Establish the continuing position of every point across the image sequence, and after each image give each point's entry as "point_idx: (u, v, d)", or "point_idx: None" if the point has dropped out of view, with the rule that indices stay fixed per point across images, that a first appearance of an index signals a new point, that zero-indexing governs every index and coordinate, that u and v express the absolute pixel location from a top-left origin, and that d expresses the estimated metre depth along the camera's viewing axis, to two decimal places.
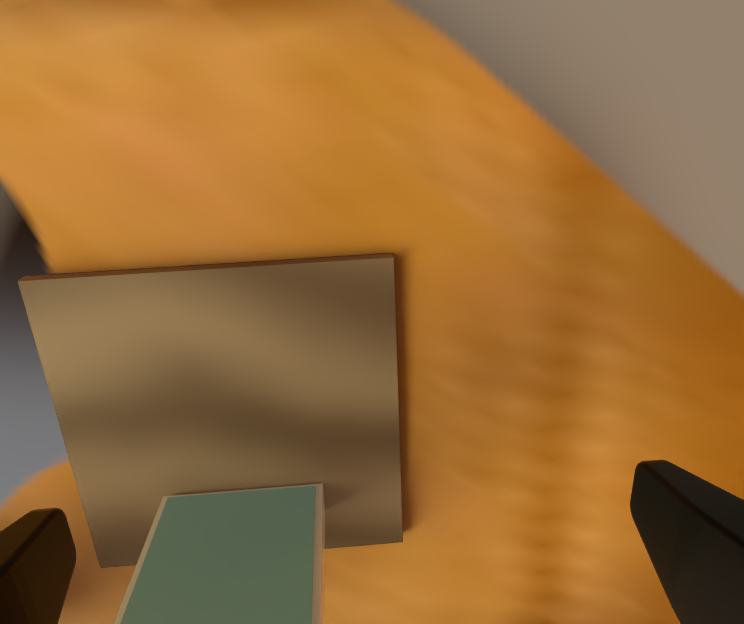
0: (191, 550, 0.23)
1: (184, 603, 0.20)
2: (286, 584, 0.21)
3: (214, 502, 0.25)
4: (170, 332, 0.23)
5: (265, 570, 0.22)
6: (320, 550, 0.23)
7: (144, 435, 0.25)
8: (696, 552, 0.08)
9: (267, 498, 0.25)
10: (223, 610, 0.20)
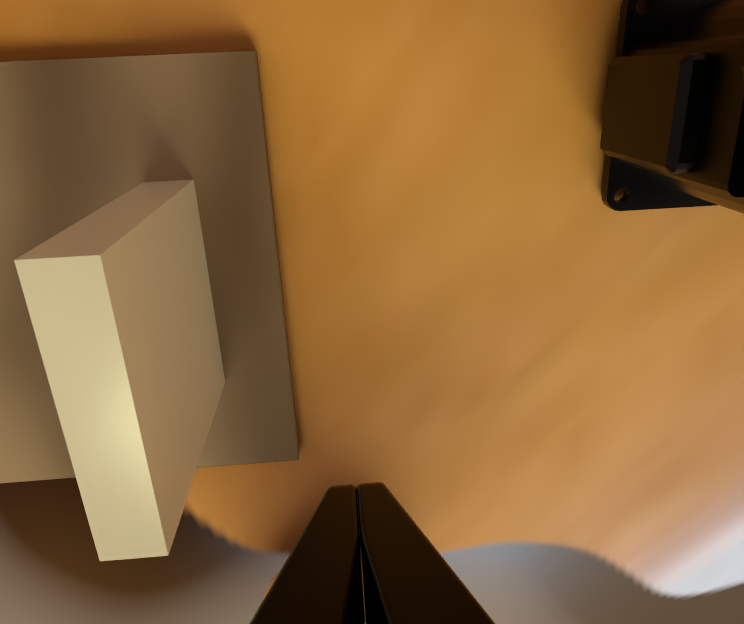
0: None
1: None
2: None
3: None
4: None
5: None
6: None
7: None
8: (365, 581, 0.08)
9: None
10: None
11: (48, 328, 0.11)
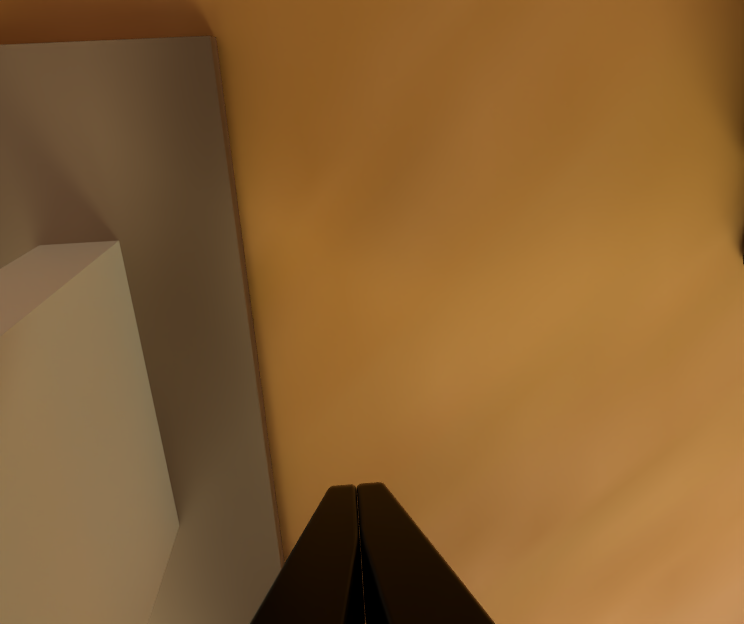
0: None
1: None
2: None
3: None
4: None
5: None
6: None
7: None
8: (365, 581, 0.08)
9: None
10: None
11: None
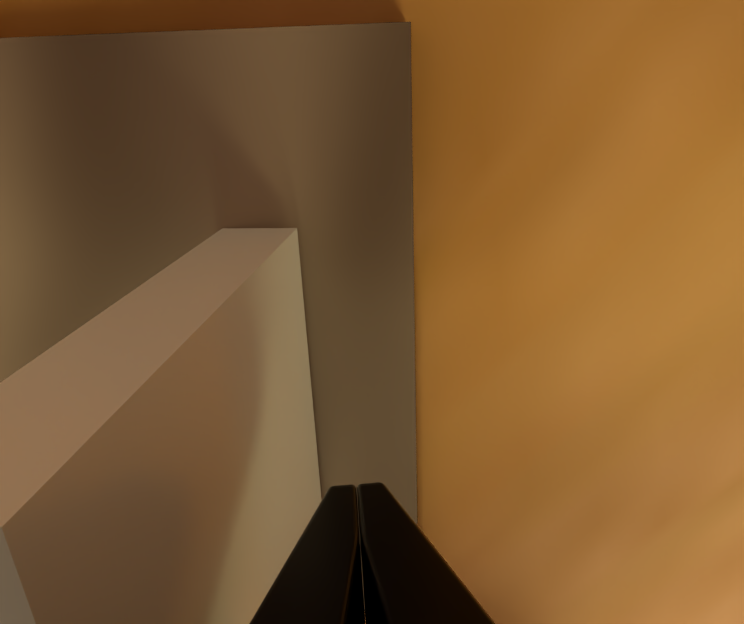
0: None
1: None
2: None
3: None
4: None
5: None
6: (114, 306, 0.08)
7: None
8: (365, 581, 0.08)
9: None
10: None
11: None
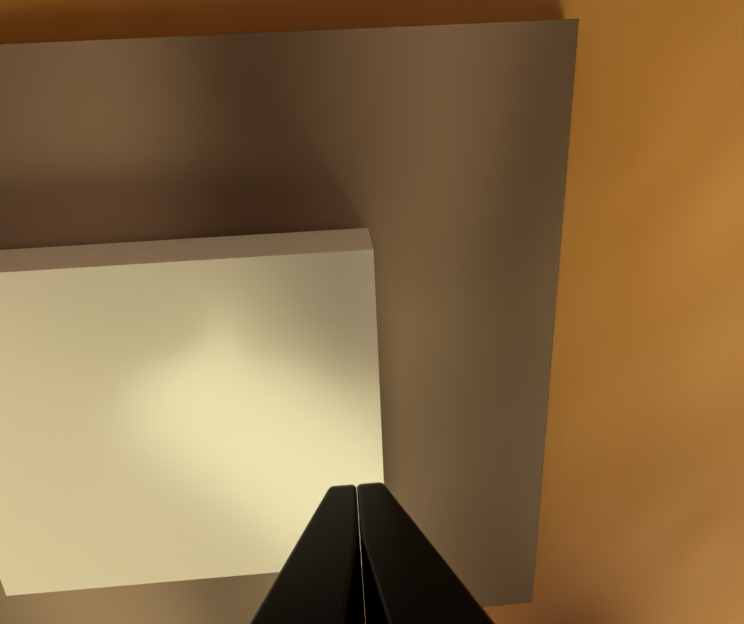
0: None
1: None
2: None
3: None
4: None
5: None
6: (160, 242, 0.11)
7: None
8: (365, 581, 0.08)
9: None
10: None
11: None
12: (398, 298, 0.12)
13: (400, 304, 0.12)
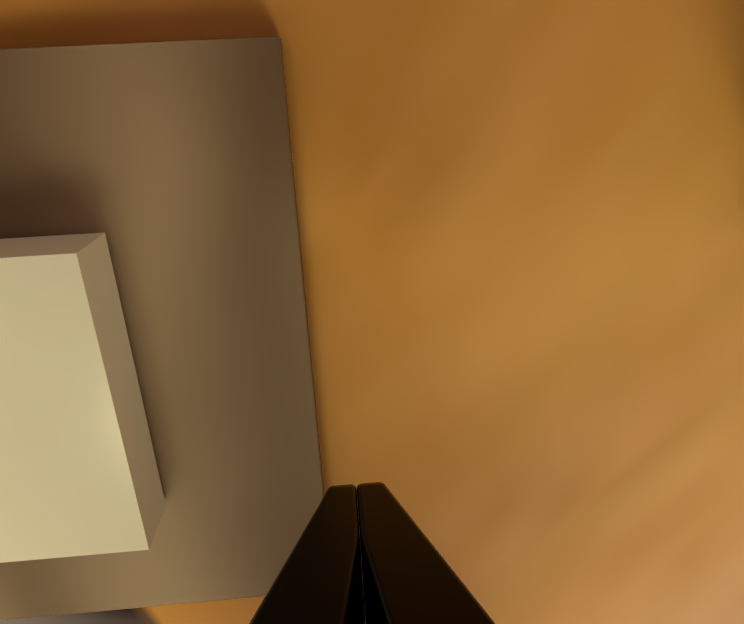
0: None
1: None
2: None
3: None
4: None
5: None
6: None
7: None
8: (365, 581, 0.08)
9: None
10: None
11: None
12: (149, 299, 0.13)
13: (153, 304, 0.13)
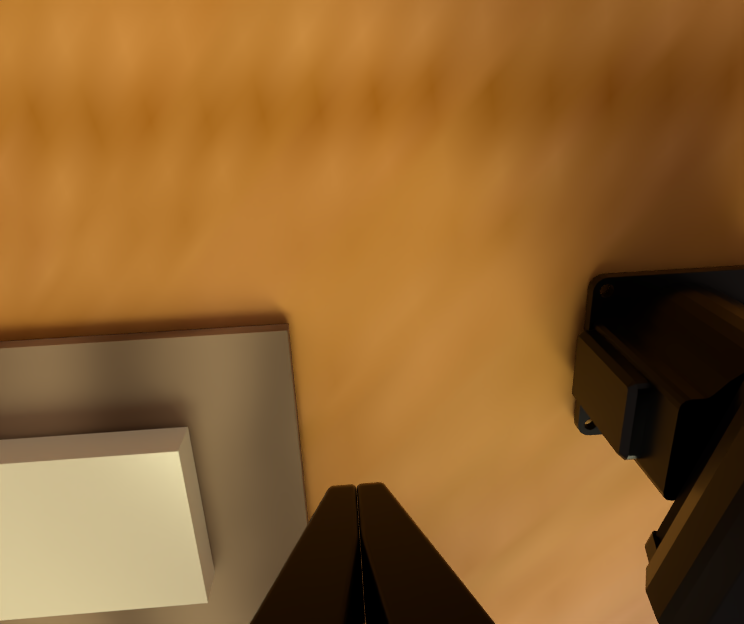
0: None
1: None
2: None
3: None
4: None
5: None
6: (76, 435, 0.21)
7: None
8: (365, 581, 0.08)
9: None
10: None
11: None
12: (210, 459, 0.22)
13: (212, 461, 0.22)
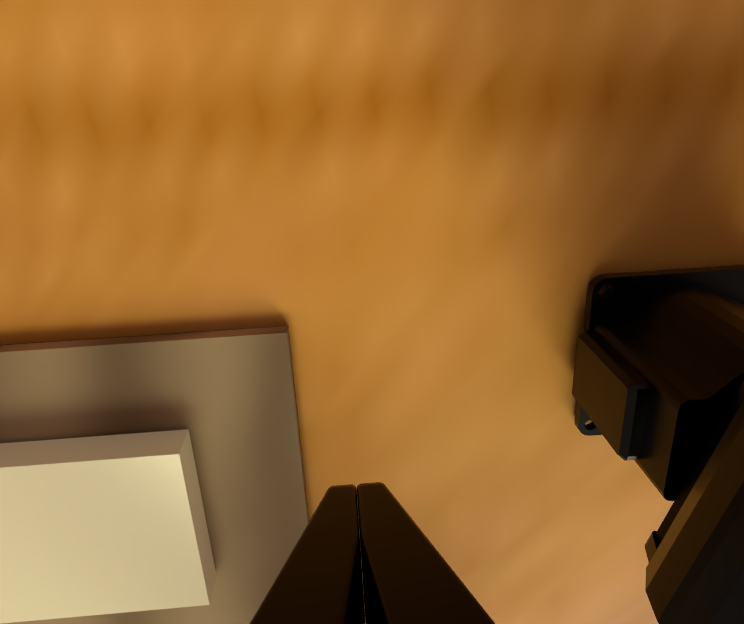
0: None
1: None
2: None
3: None
4: None
5: None
6: (77, 438, 0.21)
7: None
8: (365, 581, 0.08)
9: None
10: None
11: None
12: (211, 461, 0.22)
13: (213, 463, 0.22)
